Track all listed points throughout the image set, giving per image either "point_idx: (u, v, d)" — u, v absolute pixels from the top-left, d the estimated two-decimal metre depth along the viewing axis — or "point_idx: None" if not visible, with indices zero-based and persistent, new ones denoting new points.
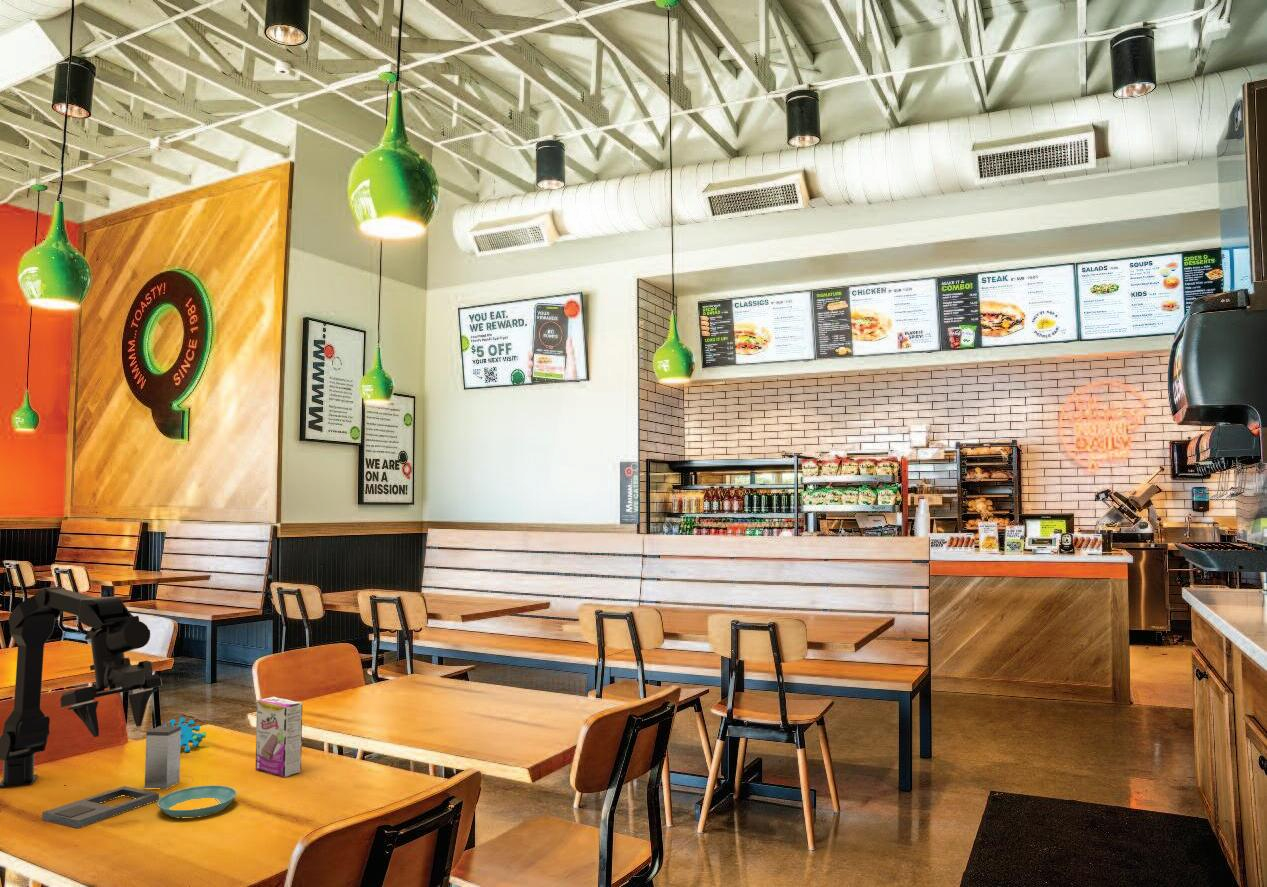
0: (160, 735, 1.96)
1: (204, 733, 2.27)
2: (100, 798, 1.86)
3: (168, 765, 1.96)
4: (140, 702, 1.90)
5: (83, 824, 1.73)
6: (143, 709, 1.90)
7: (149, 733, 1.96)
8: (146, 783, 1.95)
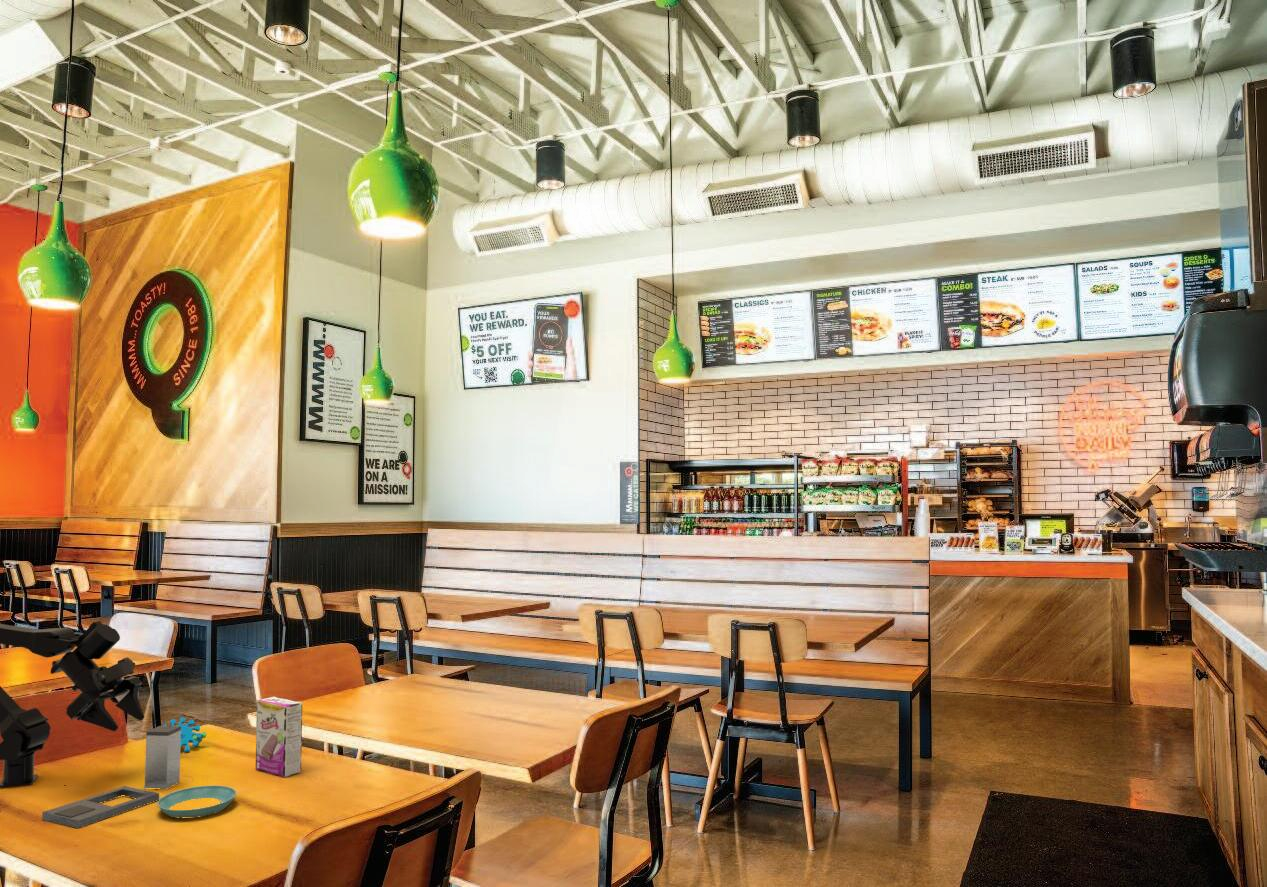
0: (160, 735, 1.96)
1: (204, 733, 2.27)
2: (100, 798, 1.86)
3: (168, 765, 1.96)
4: (133, 700, 2.04)
5: (83, 824, 1.73)
6: (138, 704, 2.04)
7: (149, 733, 1.96)
8: (146, 783, 1.95)
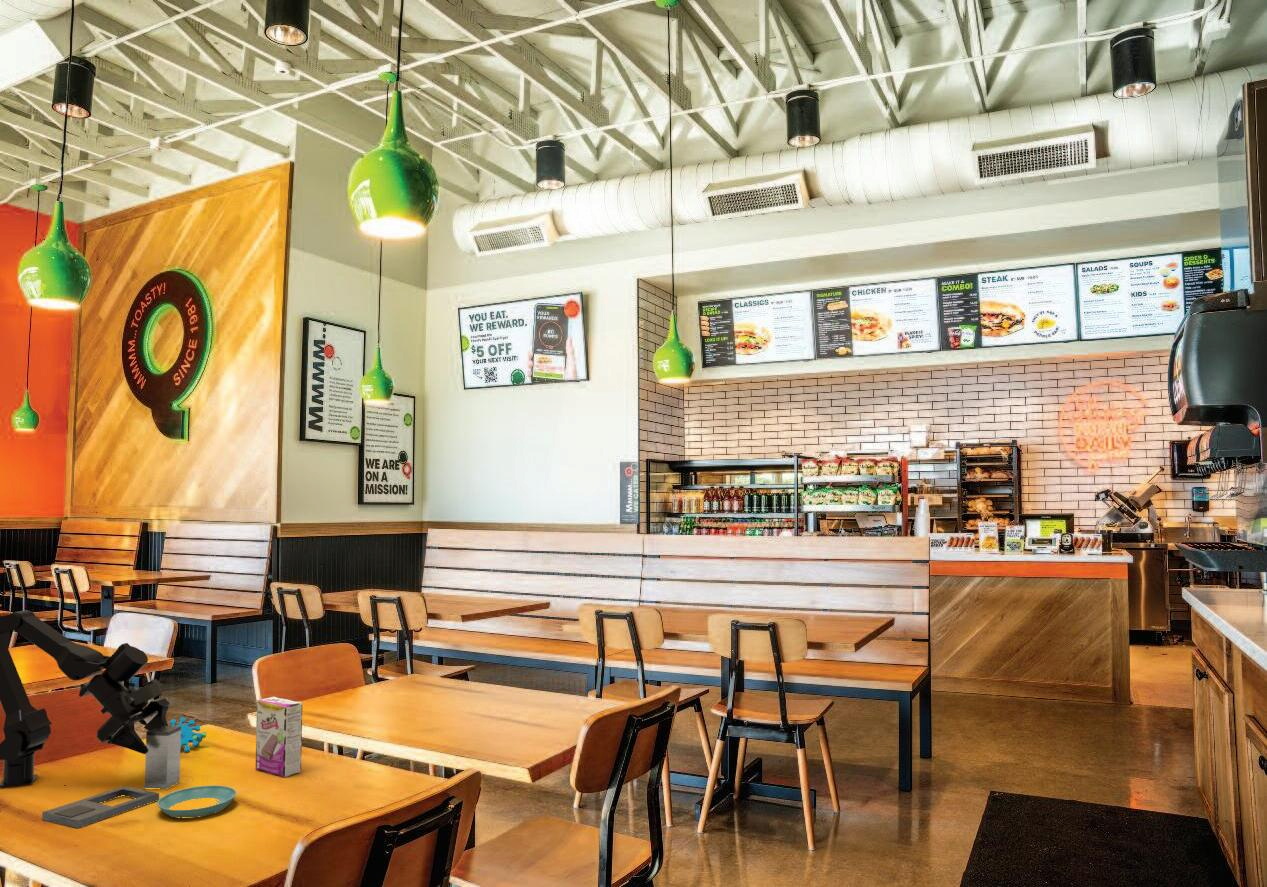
0: (160, 735, 1.96)
1: (204, 733, 2.27)
2: (100, 798, 1.86)
3: (168, 765, 1.96)
4: (161, 721, 2.03)
5: (83, 824, 1.73)
6: None
7: (149, 733, 1.96)
8: (146, 783, 1.95)
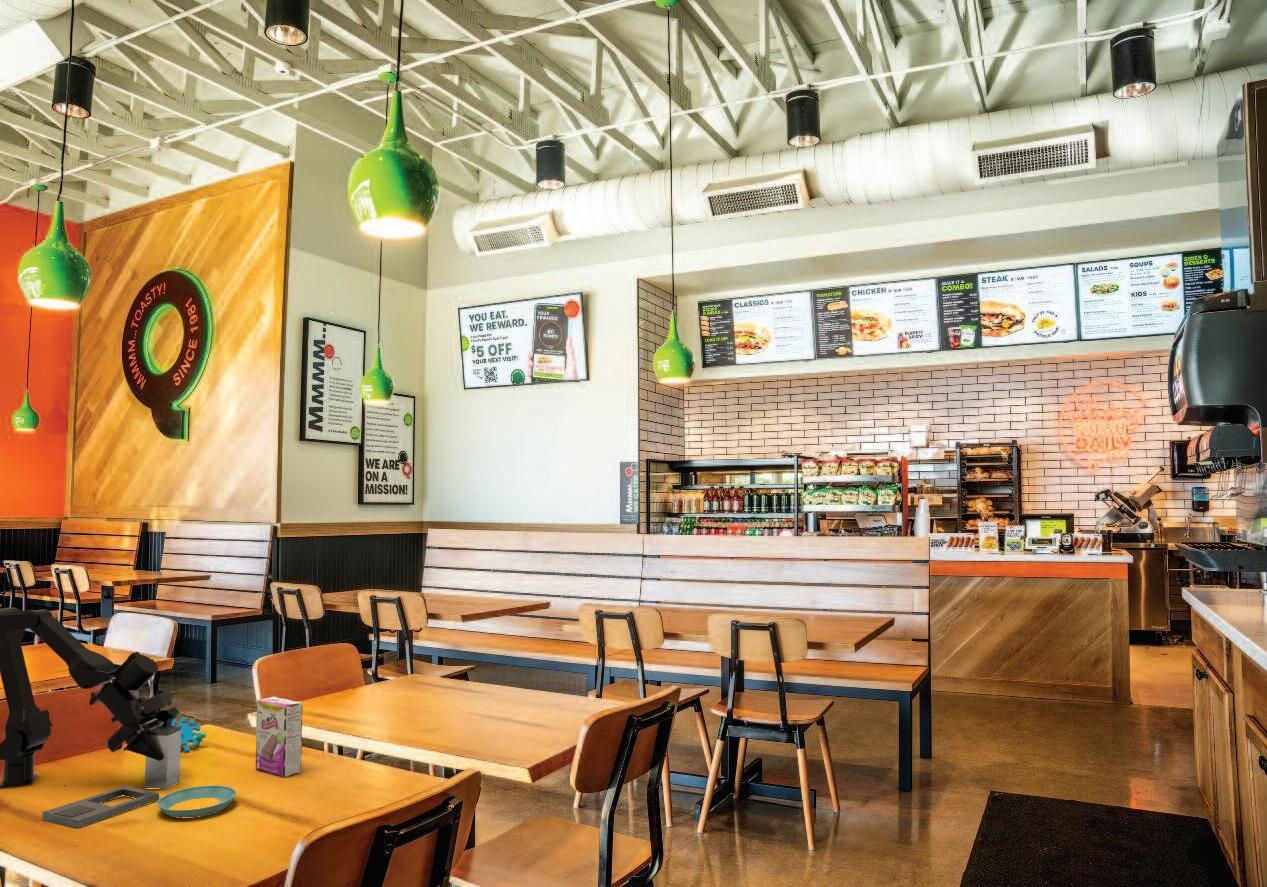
0: (160, 735, 1.96)
1: (204, 733, 2.27)
2: (100, 798, 1.86)
3: (168, 764, 1.96)
4: None
5: (83, 824, 1.73)
6: None
7: None
8: (146, 783, 1.95)
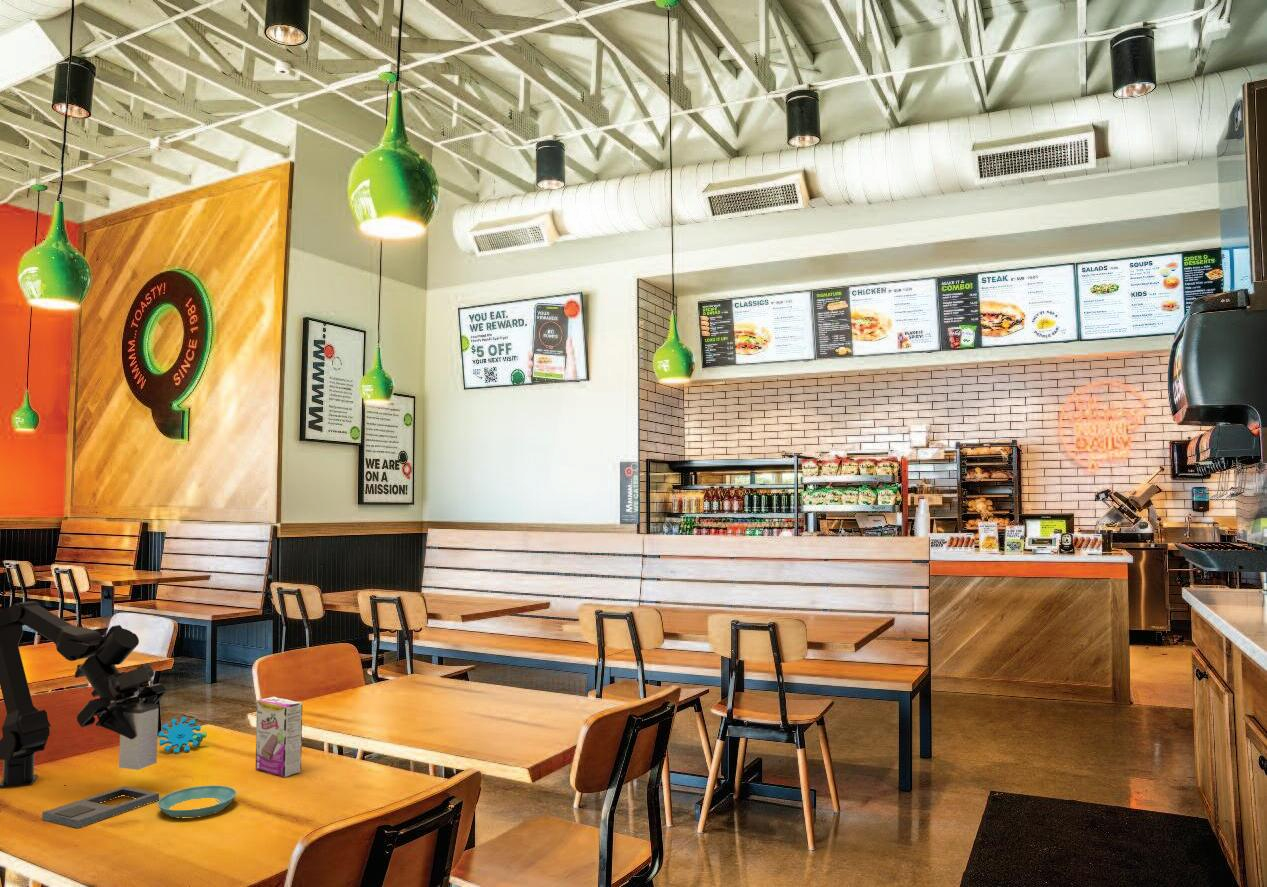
0: (132, 712, 1.88)
1: (204, 733, 2.27)
2: (100, 798, 1.86)
3: (140, 744, 1.88)
4: None
5: (83, 824, 1.73)
6: None
7: (123, 709, 1.89)
8: (120, 761, 1.88)
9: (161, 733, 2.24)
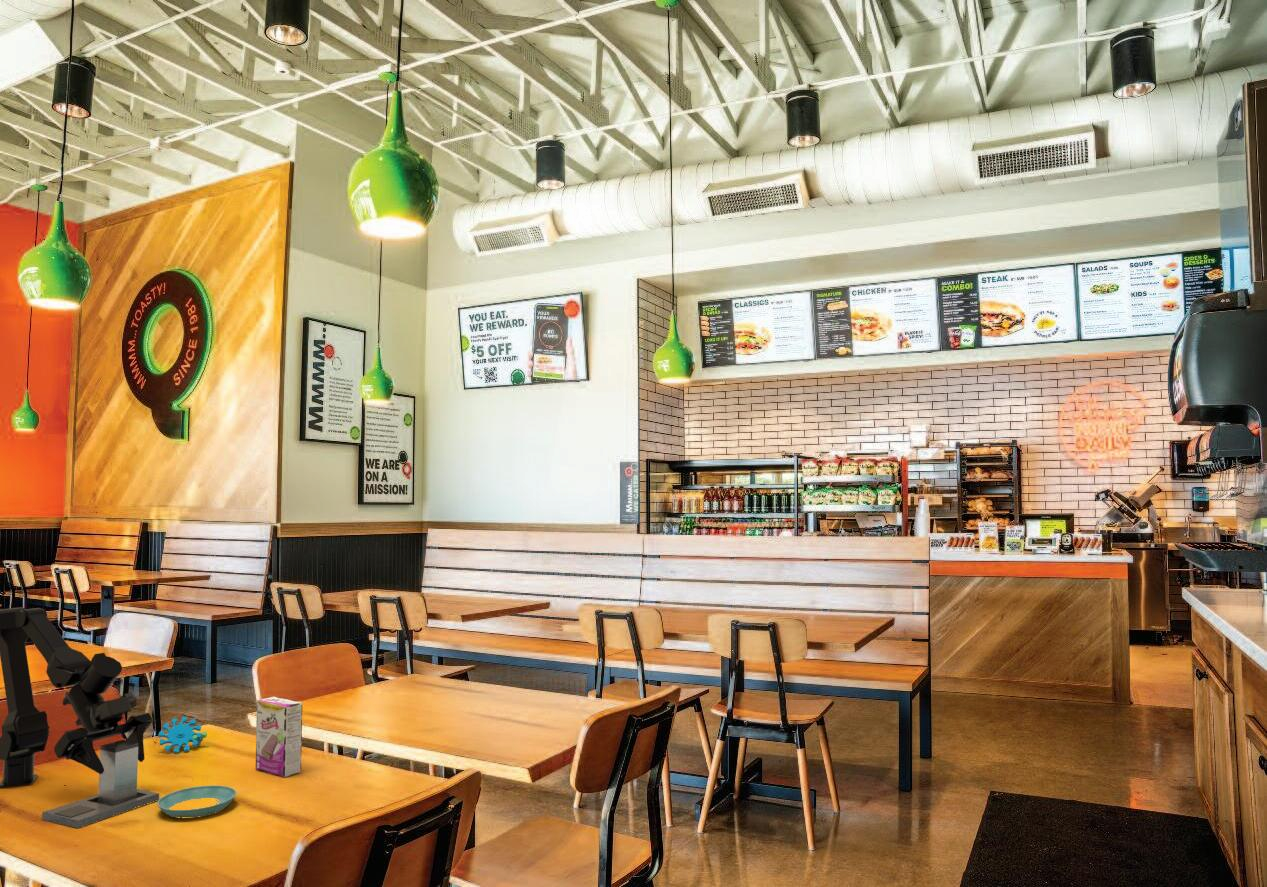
0: (109, 751, 1.83)
1: (205, 733, 2.28)
2: None
3: (117, 784, 1.83)
4: (136, 738, 1.91)
5: (83, 824, 1.73)
6: (141, 744, 1.91)
7: (102, 747, 1.85)
8: (99, 800, 1.84)
9: (161, 733, 2.24)
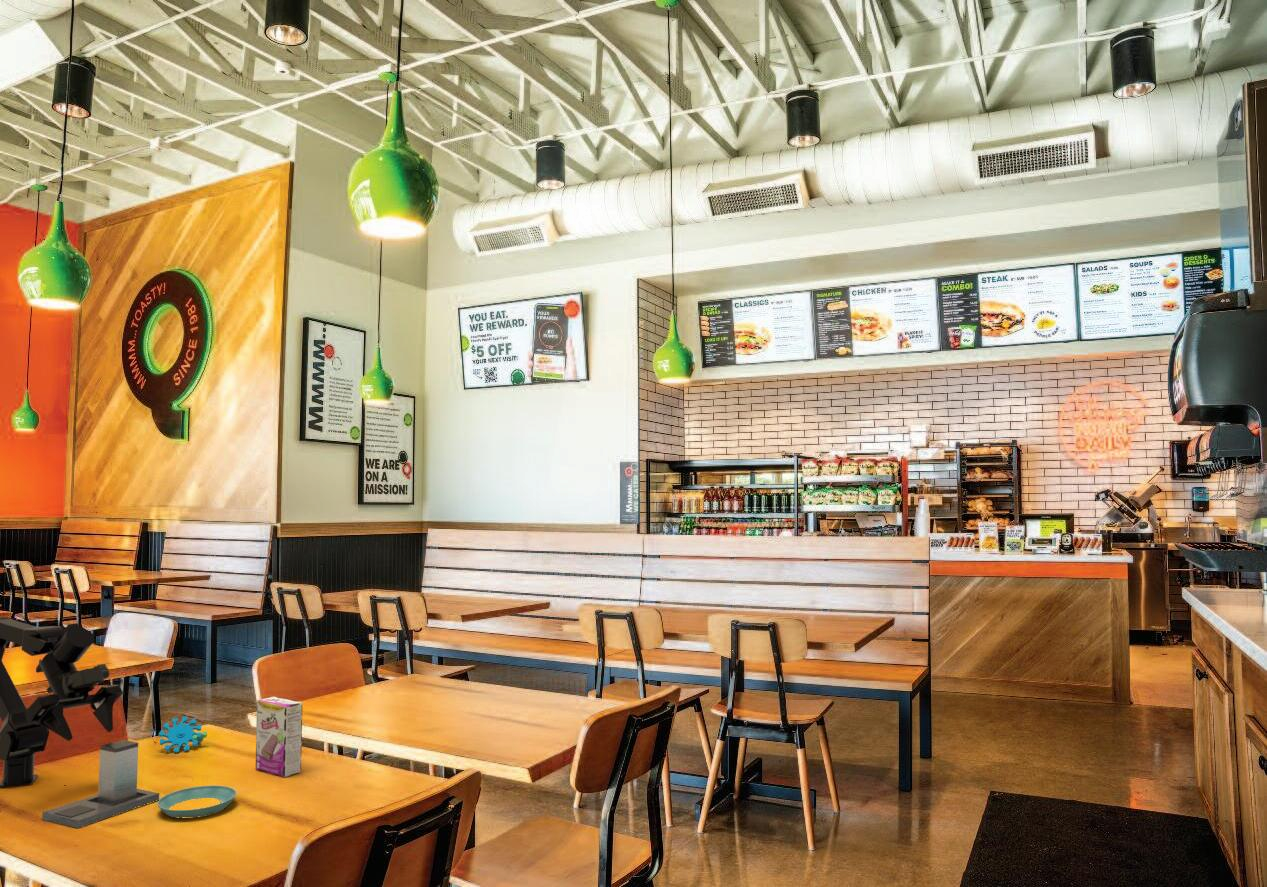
0: (109, 751, 1.83)
1: (205, 733, 2.28)
2: None
3: (117, 784, 1.83)
4: (106, 709, 1.95)
5: (83, 824, 1.73)
6: (111, 715, 1.95)
7: (102, 747, 1.85)
8: (99, 800, 1.84)
9: (162, 732, 2.24)
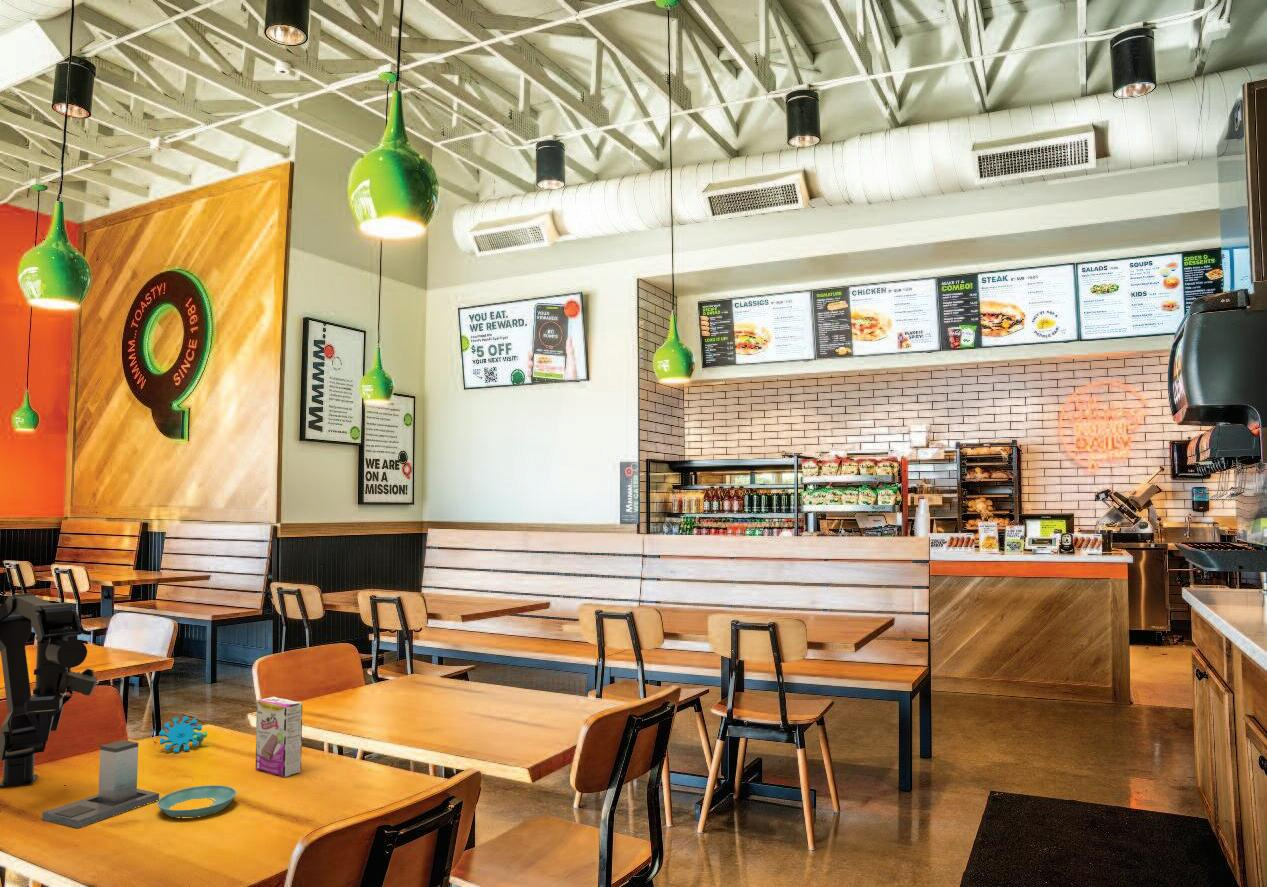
0: (109, 751, 1.83)
1: (205, 733, 2.28)
2: None
3: (117, 784, 1.83)
4: (60, 707, 1.96)
5: (83, 824, 1.73)
6: None
7: (102, 747, 1.85)
8: (99, 800, 1.84)
9: (162, 732, 2.25)
